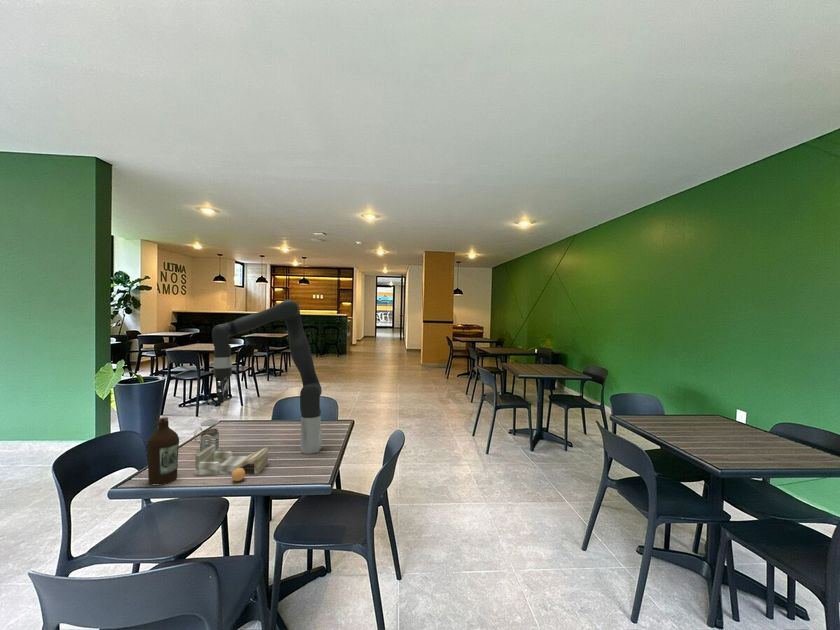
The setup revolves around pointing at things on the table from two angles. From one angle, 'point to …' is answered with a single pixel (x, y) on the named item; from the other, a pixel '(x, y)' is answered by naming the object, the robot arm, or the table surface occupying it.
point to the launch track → (227, 461)
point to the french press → (211, 432)
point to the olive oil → (162, 454)
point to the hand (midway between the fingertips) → (223, 400)
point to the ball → (238, 474)
